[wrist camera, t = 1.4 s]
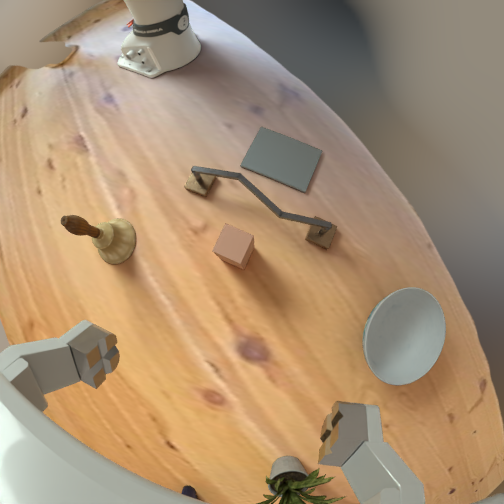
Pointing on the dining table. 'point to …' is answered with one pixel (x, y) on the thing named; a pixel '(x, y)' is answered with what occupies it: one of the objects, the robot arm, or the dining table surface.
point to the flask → (189, 492)
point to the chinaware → (404, 336)
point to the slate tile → (282, 159)
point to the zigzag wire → (319, 228)
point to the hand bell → (105, 236)
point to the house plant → (294, 483)
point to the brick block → (234, 246)
